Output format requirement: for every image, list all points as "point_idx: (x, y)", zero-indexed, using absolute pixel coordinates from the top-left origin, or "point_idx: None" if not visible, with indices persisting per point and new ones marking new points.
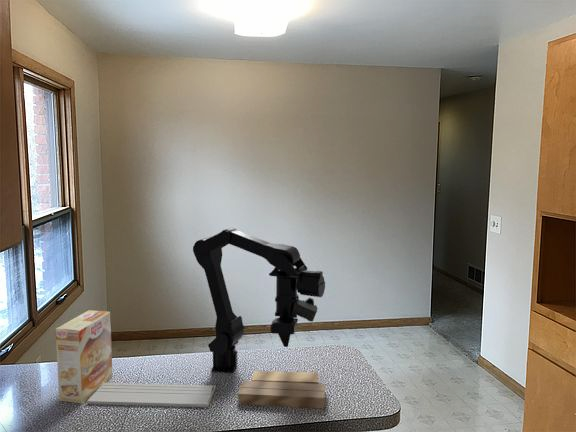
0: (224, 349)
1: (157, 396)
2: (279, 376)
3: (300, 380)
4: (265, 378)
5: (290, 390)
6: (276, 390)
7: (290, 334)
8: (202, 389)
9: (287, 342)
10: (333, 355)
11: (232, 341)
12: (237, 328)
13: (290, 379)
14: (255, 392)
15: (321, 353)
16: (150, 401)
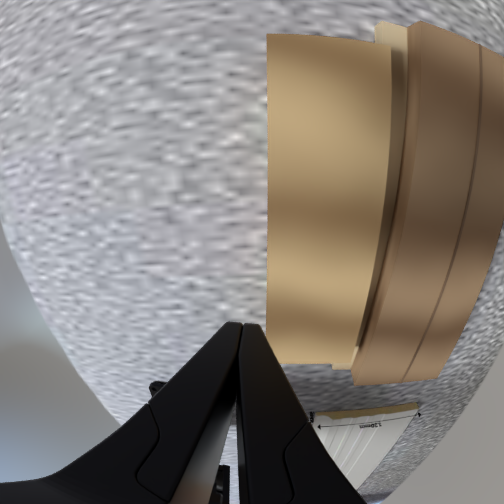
0: (228, 479)
1: (357, 467)
2: (326, 261)
3: (377, 145)
4: (342, 320)
5: (472, 207)
6: (459, 268)
7: (161, 397)
8: (343, 433)
9: (273, 367)
10: (18, 35)
11: (221, 498)
12: None
13: (365, 202)
14: (449, 337)
15: (5, 86)
16: (372, 467)
